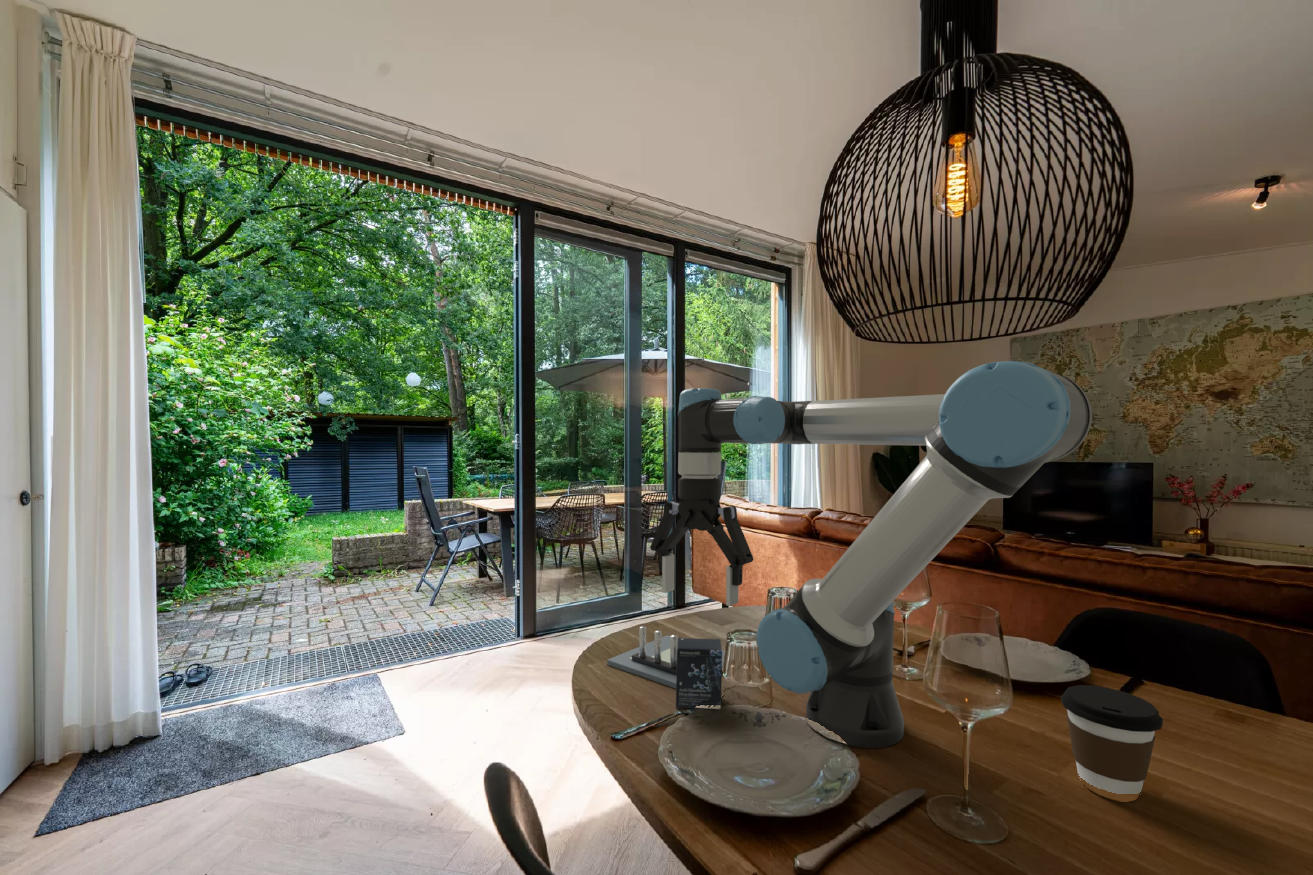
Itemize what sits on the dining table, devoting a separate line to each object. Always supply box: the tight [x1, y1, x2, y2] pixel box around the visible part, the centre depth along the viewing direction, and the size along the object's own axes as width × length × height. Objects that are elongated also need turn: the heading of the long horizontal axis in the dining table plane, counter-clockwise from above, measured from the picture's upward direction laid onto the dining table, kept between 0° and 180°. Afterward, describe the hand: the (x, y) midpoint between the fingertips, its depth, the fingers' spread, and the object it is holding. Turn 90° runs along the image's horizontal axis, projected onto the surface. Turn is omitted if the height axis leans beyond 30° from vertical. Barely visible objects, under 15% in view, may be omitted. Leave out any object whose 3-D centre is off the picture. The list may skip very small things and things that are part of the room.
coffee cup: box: [1060, 684, 1164, 794], centre depth 79 cm, size 11×11×12 cm
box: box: [675, 637, 723, 709], centre depth 104 cm, size 8×6×11 cm
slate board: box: [606, 634, 726, 689], centre depth 122 cm, size 20×20×1 cm
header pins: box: [632, 625, 679, 675], centre depth 117 cm, size 12×2×7 cm, turn 51°
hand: (698, 597), depth 103 cm, fingers open, 13 cm apart
